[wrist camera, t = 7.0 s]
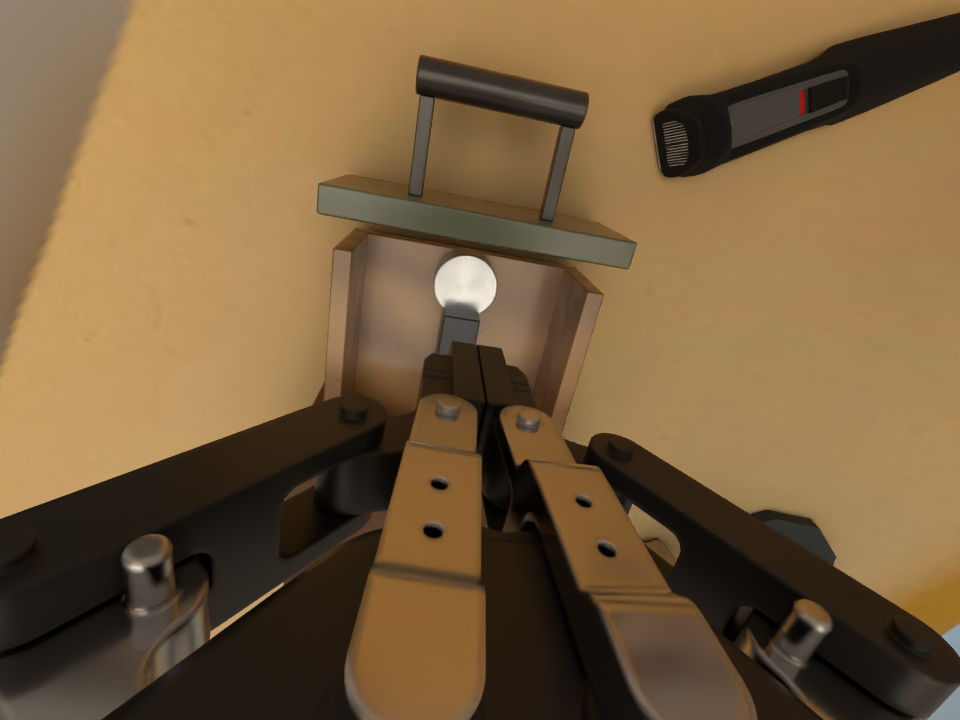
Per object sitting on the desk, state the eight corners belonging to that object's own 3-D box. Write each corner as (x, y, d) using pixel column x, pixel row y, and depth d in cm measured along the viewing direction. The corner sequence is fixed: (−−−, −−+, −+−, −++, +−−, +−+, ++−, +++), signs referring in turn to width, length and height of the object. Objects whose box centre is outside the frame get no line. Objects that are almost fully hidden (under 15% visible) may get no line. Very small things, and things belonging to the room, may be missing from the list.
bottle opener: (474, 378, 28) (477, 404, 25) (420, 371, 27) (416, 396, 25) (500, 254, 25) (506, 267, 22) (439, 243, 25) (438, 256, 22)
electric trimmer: (948, 83, 25) (1015, 75, 22) (660, 182, 26) (687, 187, 23) (956, -1, 23) (1028, -22, 20) (649, 108, 24) (677, 103, 21)
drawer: (354, 52, 22) (324, 22, 17) (629, 113, 24) (681, 105, 18) (328, 432, 30) (302, 493, 25) (533, 457, 32) (550, 519, 27)
